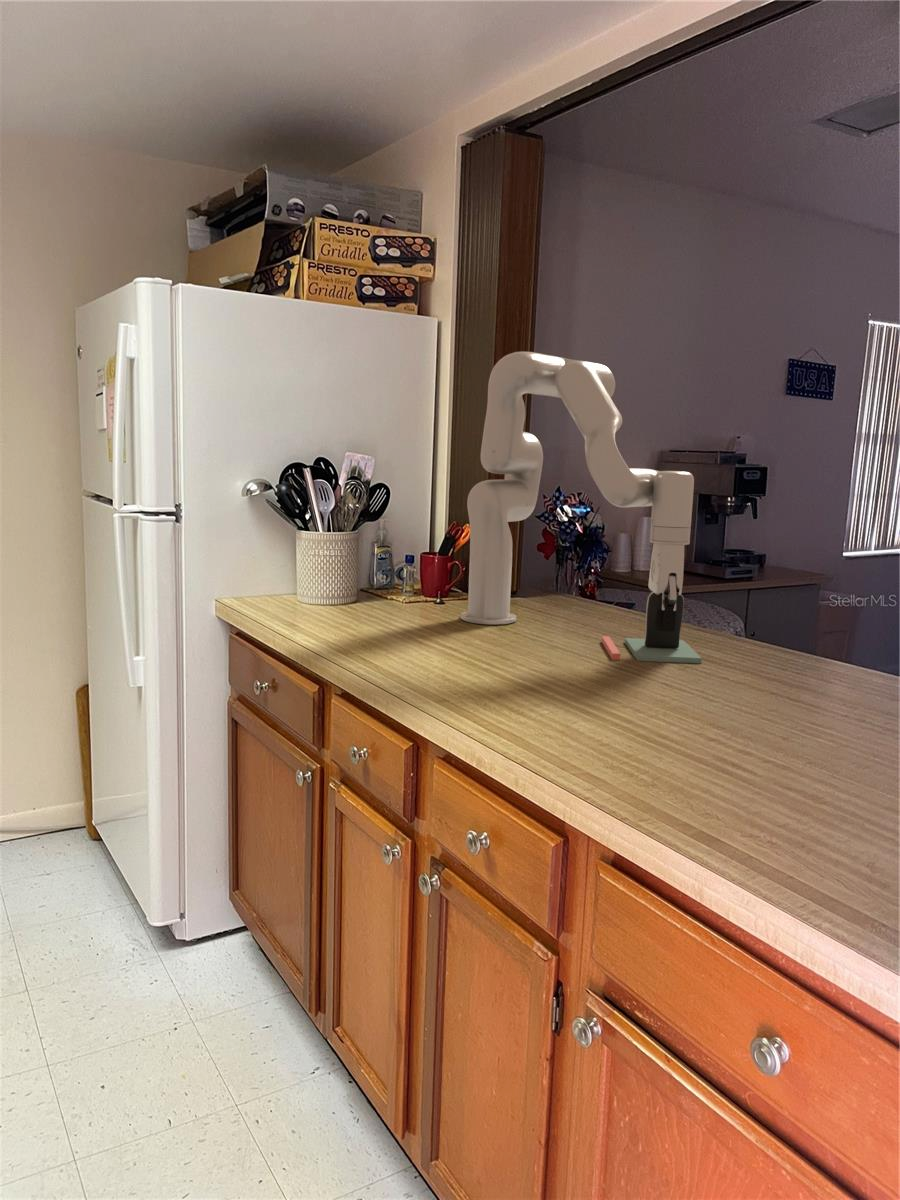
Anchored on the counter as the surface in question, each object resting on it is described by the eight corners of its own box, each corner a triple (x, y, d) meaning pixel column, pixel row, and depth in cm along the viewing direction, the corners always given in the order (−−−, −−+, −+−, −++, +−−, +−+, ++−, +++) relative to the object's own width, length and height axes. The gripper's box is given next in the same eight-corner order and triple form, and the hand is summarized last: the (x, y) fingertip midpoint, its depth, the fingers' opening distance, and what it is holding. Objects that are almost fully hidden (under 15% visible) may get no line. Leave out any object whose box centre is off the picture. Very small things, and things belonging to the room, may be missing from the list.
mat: (624, 642, 189) (624, 637, 189) (683, 645, 189) (683, 640, 188) (637, 660, 173) (637, 655, 173) (701, 663, 173) (701, 658, 173)
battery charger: (676, 643, 183) (682, 588, 180) (680, 649, 179) (685, 593, 176) (641, 641, 184) (646, 586, 180) (644, 647, 180) (649, 592, 177)
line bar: (601, 641, 189) (601, 636, 189) (608, 642, 189) (609, 636, 189) (612, 659, 173) (612, 653, 173) (620, 660, 173) (620, 653, 173)
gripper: (643, 531, 185) (637, 620, 188) (658, 539, 169) (652, 636, 172) (680, 532, 185) (674, 621, 188) (699, 540, 169) (692, 638, 172)
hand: (663, 627), depth 180 cm, fingers open, 4 cm apart
